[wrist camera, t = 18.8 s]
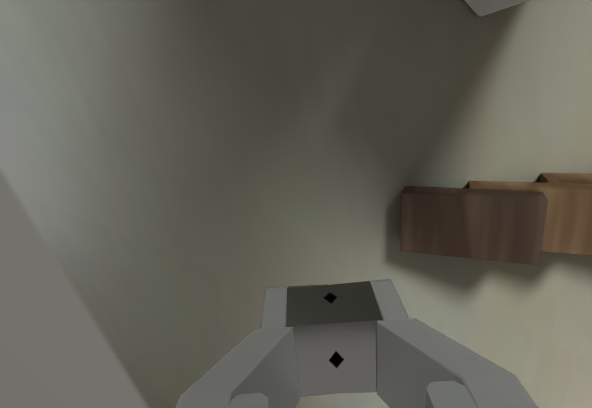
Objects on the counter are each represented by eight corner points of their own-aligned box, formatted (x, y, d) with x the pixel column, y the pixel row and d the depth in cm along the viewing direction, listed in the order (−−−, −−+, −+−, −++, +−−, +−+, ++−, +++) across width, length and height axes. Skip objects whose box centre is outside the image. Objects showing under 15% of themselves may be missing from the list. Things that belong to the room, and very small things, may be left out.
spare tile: (400, 250, 32) (539, 265, 28) (401, 193, 31) (548, 200, 27) (404, 240, 34) (534, 252, 30) (405, 186, 33) (542, 191, 29)
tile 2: (466, 245, 32) (612, 256, 29) (470, 187, 31) (625, 192, 27) (465, 235, 34) (602, 245, 31) (469, 181, 33) (613, 184, 29)
